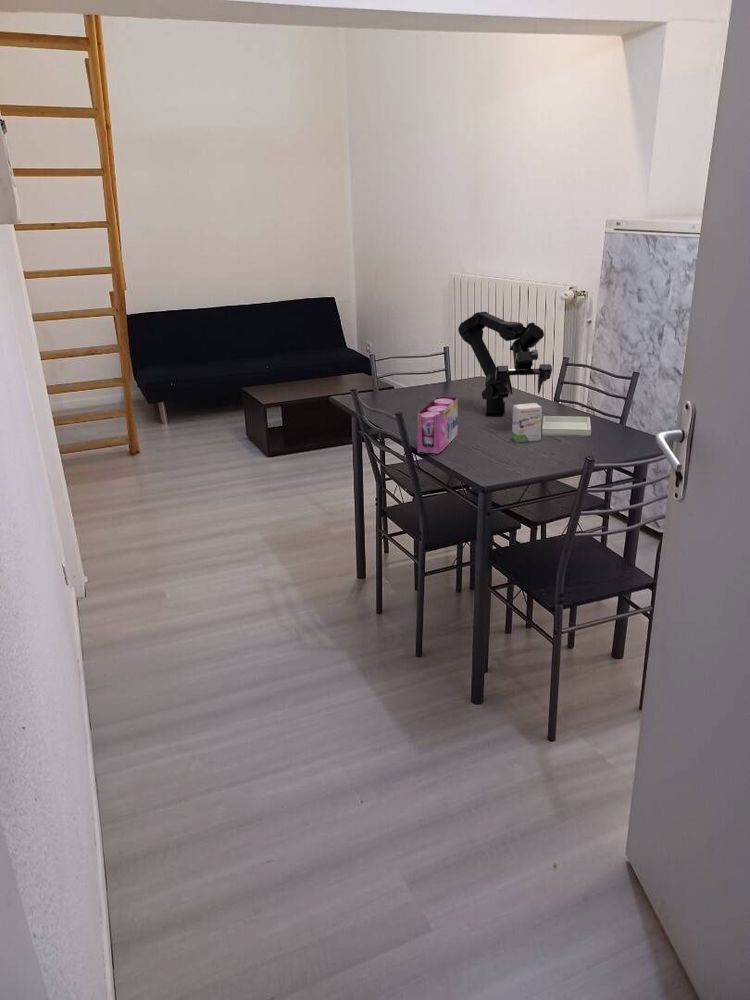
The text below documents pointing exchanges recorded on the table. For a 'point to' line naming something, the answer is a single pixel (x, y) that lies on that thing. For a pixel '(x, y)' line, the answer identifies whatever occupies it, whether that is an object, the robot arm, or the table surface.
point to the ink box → (526, 422)
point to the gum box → (437, 424)
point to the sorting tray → (566, 426)
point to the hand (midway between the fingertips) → (525, 393)
